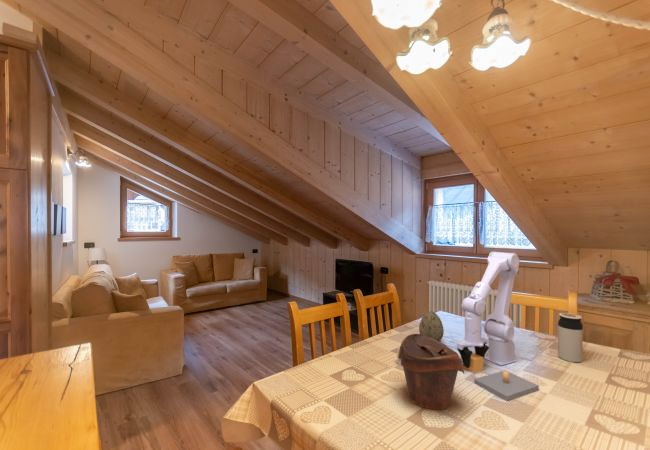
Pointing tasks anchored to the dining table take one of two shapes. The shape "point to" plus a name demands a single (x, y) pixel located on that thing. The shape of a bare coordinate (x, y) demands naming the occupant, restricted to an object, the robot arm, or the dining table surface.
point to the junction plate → (506, 385)
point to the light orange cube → (475, 363)
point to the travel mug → (570, 337)
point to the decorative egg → (431, 326)
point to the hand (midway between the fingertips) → (472, 365)
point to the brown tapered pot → (429, 370)
